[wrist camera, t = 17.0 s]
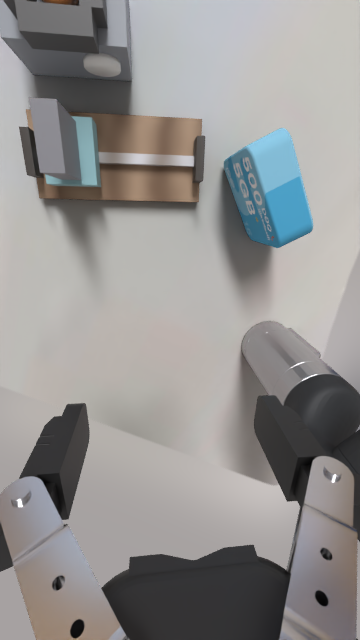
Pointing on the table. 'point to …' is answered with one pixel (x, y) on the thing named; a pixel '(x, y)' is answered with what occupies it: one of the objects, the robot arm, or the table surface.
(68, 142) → the carriage
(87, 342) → the table surface
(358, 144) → the table surface
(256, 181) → the data package
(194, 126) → the rail base
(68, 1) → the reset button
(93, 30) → the grey dispenser housing
